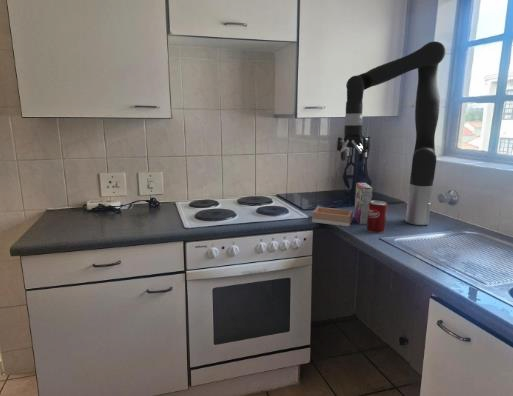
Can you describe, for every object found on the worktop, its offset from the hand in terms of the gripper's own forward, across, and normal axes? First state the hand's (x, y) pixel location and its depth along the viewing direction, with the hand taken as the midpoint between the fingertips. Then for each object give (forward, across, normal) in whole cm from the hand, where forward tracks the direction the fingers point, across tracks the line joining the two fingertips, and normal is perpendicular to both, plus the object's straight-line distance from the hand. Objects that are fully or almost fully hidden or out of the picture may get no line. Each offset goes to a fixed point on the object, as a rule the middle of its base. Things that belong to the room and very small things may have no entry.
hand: (351, 161), depth 169 cm
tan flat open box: (+26, +3, +10) cm, 28 cm away
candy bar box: (+26, -6, 0) cm, 27 cm away
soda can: (+27, -17, +8) cm, 33 cm away
